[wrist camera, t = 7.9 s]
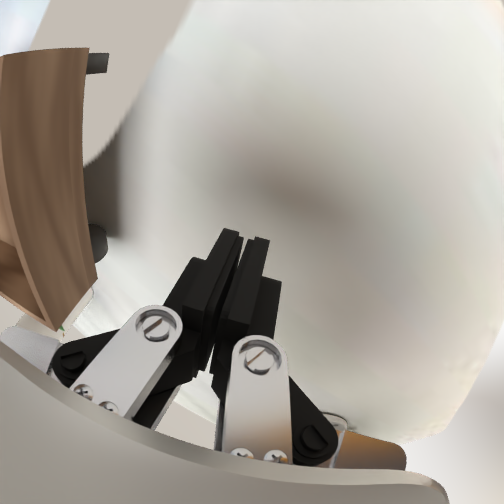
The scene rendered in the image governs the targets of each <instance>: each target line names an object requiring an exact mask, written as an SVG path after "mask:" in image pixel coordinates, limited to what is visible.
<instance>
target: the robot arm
mask: <svg viewBox="0 0 504 504" xmlns="http://www.w3.org/2000/svg"><path fill="white" fill-rule="evenodd" d="M243 240H244V237H240V236H239V232H237V231H233V230H230V229H226V228H224V229H223V231H222V232H221V234H220V236H219V238H218V240H217V241H216V243H215V245H214V247H213V249H212V250H211V252H210V254H209V256H208V258H207V259H206V260H203V259H199V258H196V257H193V258H192V259H191V260H190V261H189V263H188V265H187V266H186V268H185V270H184V271H183V273H182V274H181V276H180V278H179V279H178V281H177V283H176V284H175V286H174V288H173V289H172V291H171V293H170V294H169V296H168V298H167V299H166V301H165V303H164V304H163V306H160V305H151V306H146V307H143V308H141V309H139V310H138V311H137V312H136V313H134V314H133V315H132V317H131V318H130V319H129V320H128V321H127V322H126V323H125V324H124V325H123V327H122V328H121V329H118V330H114V331H110V332H106V333H102V334H99V335H95V336H91V337H87V338H83V339H79V340H75V341H71V342H68V343H65V344H62V343H60V341H59V340H58V339H54V338H51V337H48V336H45V335H41V334H38V333H35V332H32V331H29V330H27V329H24V328H21V327H17V326H12V327H8V328H7V329H5V330H4V331H3V332H2V334H1V335H0V504H449V500H448V496H447V493H446V491H445V489H444V488H443V487H442V486H441V484H439V483H437V482H436V481H435V480H433V479H431V478H429V477H427V476H424V475H422V474H418V473H414V472H409V471H405V468H406V454H405V452H404V450H403V449H402V448H401V447H400V446H399V445H397V444H395V443H391V442H387V441H383V440H379V439H375V438H371V437H368V436H364V435H361V434H357V433H354V432H351V431H347V422H346V421H345V420H344V419H342V418H340V417H337V416H334V415H329V414H323V413H321V412H320V411H319V409H318V408H317V407H316V406H315V405H314V404H313V403H312V402H311V401H310V399H309V398H308V397H307V396H306V395H305V394H304V393H303V391H302V390H301V389H300V388H299V387H298V386H297V384H296V383H295V382H294V381H293V380H292V379H291V377H290V376H289V375H288V360H287V356H286V352H285V351H284V349H283V348H282V346H281V345H280V344H278V343H277V342H276V341H274V340H273V338H274V331H275V325H276V319H277V312H278V305H279V298H280V292H281V284H282V282H281V281H278V280H274V279H271V278H267V277H263V276H262V272H263V268H264V264H265V260H266V256H267V251H268V247H269V243H270V240H267V239H263V238H259V237H256V236H255V239H254V240H251V239H248V241H247V244H246V246H245V249H244V252H243V254H242V257H241V260H240V262H239V258H240V253H241V249H242V244H243ZM238 262H239V265H238ZM237 267H238V268H237ZM214 343H215V344H214ZM213 346H214V349H213ZM212 349H213V355H212V360H211V366H210V371H209V373H211V374H214V375H213V380H212V385H211V387H212V389H213V390H214V392H215V394H216V395H217V397H218V398H219V402H218V412H217V422H216V432H215V442H214V450H211V449H208V448H204V447H200V446H197V445H194V444H191V443H187V442H185V441H182V440H178V439H175V438H173V437H170V436H167V435H164V434H161V433H159V432H156V431H154V430H155V429H156V427H157V426H158V424H159V422H160V421H161V419H162V417H163V416H164V414H165V413H166V411H167V409H168V408H169V406H170V404H171V403H172V401H173V399H174V398H175V396H176V394H177V393H178V391H179V390H180V387H181V385H182V384H184V383H187V382H190V381H192V378H193V377H195V378H196V377H197V374H198V371H199V370H201V371H205V369H206V366H207V363H208V361H209V358H210V355H211V352H212Z"/></svg>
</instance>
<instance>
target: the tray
mask: <svg viewBox="0 0 504 504" xmlns="http://www.w3.org/2000/svg"><path fill="white" fill-rule="evenodd" d="M108 58H109V53H89V48H60V49H46V50H35V51H27V52H19V53H13V54H7V55H3V56H1V57H0V295H1V296H2V297H3V298H5V299H6V300H7V301H9V302H10V303H12V304H13V305H14V306H16V307H17V308H19V309H20V310H22V311H23V312H25V313H26V314H28V315H29V316H31V317H32V318H34V319H35V320H37V321H38V322H40V323H42V324H43V325H45V326H47V327H48V328H50V329H52V330H53V331H55V332H57V331H58V329H59V328H60V326H61V325H62V324H63V322H64V321H65V320H66V318H67V317H68V316H69V314H70V313H71V312H72V310H73V309H74V308H75V306H76V305H77V304H78V303H79V301H80V300H81V299H82V297H83V296H84V295H85V294H86V292H87V291H88V290H89V289H90V287H91V286H92V285H93V284H94V283H95V281H96V280H97V279H98V277H97V273H96V268H95V263H97V262H98V261H100V260H101V259H103V258H104V256H105V255H106V253H107V251H108V245H107V237H106V231H105V230H104V229H103V228H102V227H101V226H99V225H95V224H88V219H87V211H86V202H85V191H84V178H83V159H82V158H83V157H82V120H83V99H84V86H85V76H86V74H96V73H106V72H107V65H108Z"/></svg>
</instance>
